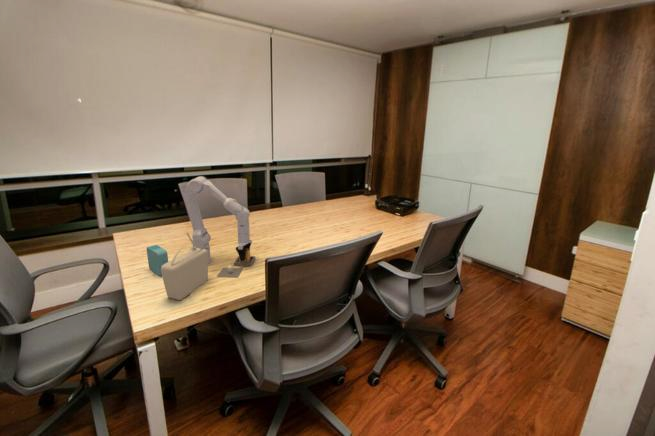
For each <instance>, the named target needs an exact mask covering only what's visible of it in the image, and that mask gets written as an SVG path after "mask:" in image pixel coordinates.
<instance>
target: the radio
mask: <svg viewBox="0 0 655 436" xmlns="http://www.w3.org/2000/svg"><path fill="white" fill-rule="evenodd" d="M185 234H186V235H187V237H188V238H189V241H190V243H187V244H184V245H183V246H181V247H180V248H179V249H178V250H177V252H176V253H175V254H174V255H173V258H172V259H171V260H170V261H169V260H168V262H167V263H165V264H164V265H162V266H161V274H162V276H161V277H162V281H163V285H164V288H165V292H166V296H167V298H168V299H173V300H177V301H181V300H183V299H185V298H186V297H187V296H189V295H190V294H192V292H194V291H195V290H197V289H199V287H201V286H203V285H204V284H205V283H207V282H208V277H209V264H208V251H207V250H206V249H203V248H202V247H201V246H200V245H198V244H196V245H198V246H199V247H200V248H201V249H199V248H196V246H195V245H194V244H195V243H193V238H192V237H191V236H190V234H189V232H188V231H186V232H185ZM192 244H193V245H192ZM188 245H192V246H191V247H192V250H190V249H189V251H187V252H185V253H183V254H181V255H179V253H180V252H181V251H182V250H183V249H184V248H185V247H186V246H188ZM178 255H179V256H178Z"/></svg>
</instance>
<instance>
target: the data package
mask: <svg viewBox="0 0 655 436" xmlns="http://www.w3.org/2000/svg"><path fill="white" fill-rule="evenodd" d="M146 255H147V263H148V268H149V270H150V271H151V272H152V273H154V274H156V275H157V276H158V277H162V274H161V266H162V265H164V264H165V263H167V262H169V257H168V251H167V250H166V249H165V248H163V247H162V246H160V245H158V244H155V245H150V246H147V247H146Z"/></svg>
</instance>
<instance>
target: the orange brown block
mask: <svg viewBox="0 0 655 436" xmlns="http://www.w3.org/2000/svg"><path fill="white" fill-rule="evenodd" d="M250 256H251V248H250V249H247V251H246V258H245V261H241V260H240V257H239V261H238V262H244V263H251V260H250Z"/></svg>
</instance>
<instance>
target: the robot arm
mask: <svg viewBox="0 0 655 436" xmlns="http://www.w3.org/2000/svg"><path fill="white" fill-rule="evenodd" d="M185 186H186V187H185V191H184V194H183V197H184V201H185V205H186V208H187V212H188V216H189V219H190V223H191V227H192V234H191V238H192V241H193V243H195V244H194V245H195V246H196V248H199V249H201V248H200V247H199V246H198V245H200V246H201V247H202V248H203V249H206V250H207V251H208V265H209V264H210V263H211V262H212V257H211V246H210V245H211V244H210V243H209V242H210V241H211V238H212V237H211V235H210V233H209V232H208V230H207V229H208V228H206V227H205V225H204V221H203V217H202V212H201V209H200V206H199V203H198V202H199V201H198V199H197V198H198V196H199V194H200V193H202V194H210V195H211V196H212V197H214V198H215V199H217V200H218V201H219V202H220V203H222V204H223V208H225V209H226V210H227V211H228V212H230V214H232V215H233V216H235V220H236V221H237V224H236V225H237V244H238V245H237V246H236V247H235V251H236V252H237V254H238V256H239V257H240V260H241V261H245V258H246V251H247V249H250V250H251V245H252V243H253V240H252V239H251V238H250V235H251V234H250V220H249V219H250V218H249V217H250V214H251V212H250V210H249V209H248V207H245V206H243V205H241V204H240V203H238V202H237V199H235V198H232V197H228V196H227V195H225V194H224V193H223V192H222V191H221V190H220V189H218V188H217V186H215V185H214V184H213V183H212V182H211V181H210V180H209V179H207V178H206V177H205V176H202V175H200V176H197V177H195V178H192V179H191V180H189V181H188V182H187V183H186V185H185ZM196 244H198V245H196ZM191 245H192V246H191V247H190V248H189V251H190V250H192V247H193V244H191Z"/></svg>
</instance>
